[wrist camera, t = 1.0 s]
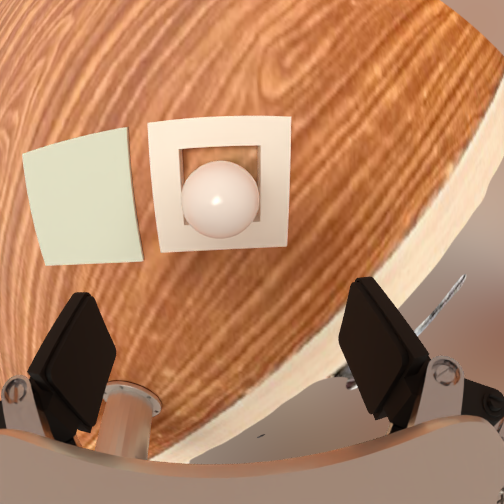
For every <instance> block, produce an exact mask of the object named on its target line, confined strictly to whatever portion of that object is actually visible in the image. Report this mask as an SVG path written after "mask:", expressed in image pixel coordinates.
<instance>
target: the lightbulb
mask: <svg viewBox="0 0 504 504" xmlns="http://www.w3.org/2000/svg"><path fill="white" fill-rule="evenodd" d="M181 207H182V211H183V214H184V216H185V218H186V220H187V222H188V223H189V224H190V226H191V227H192V228H193V229H194V230H196V231H197V232H199V233H200V234H202V235H204V236H207V237H210V238H216V239H224V238H229V237H233V236H235V235H238V234H239V233H241V232H243V231H244V230H245V229H246V228H247V227H248V226H249V225H250V224H251V223H252V221H253V220H254V218H255V216H256V214H257V211H258V208H259V191H258V187H257V184H256V182H255V180H254V179H253V177H252V176H251V174H250V173H249V172H248V171H247V170H245V169H244V168H243V167H241V166H240V165H238V164H235V163H233V162H229V161H212V162H208V163H206V164H203V165H201V166H200V167H198V168H197V169H196V170H194V171H193V172H192V173H191V174H190V176H189V177H188V178H187V180H186V182H185V184H184V186H183V189H182V193H181Z"/></svg>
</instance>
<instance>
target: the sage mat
mask: <svg viewBox="0 0 504 504" xmlns="http://www.w3.org/2000/svg"><path fill="white" fill-rule="evenodd" d="M22 157H23V166H24V174H25V181H26V187H27V193H28V198H29V204H30V209H31V213H32V218H33V222H34V226H35V230H36V234H37V238H38V242H39V245H40V249H41V252H42V255H43V259H44V262H45V265H46V266H47V265H71V264H95V263H117V262H140V261H144V256H143V250H142V245H141V239H140V233H139V227H138V221H137V214H136V207H135V200H134V192H133V183H132V174H131V163H130V151H129V136H128V127H125V128H119V129H114V130H109V131H104V132H99V133H94V134H90V135H85V136H81V137H77V138H73V139H69V140H66V141H62V142H59V143H55V144H52V145H48V146H45V147H42V148H39V149H36V150H33V151H30V152H27V153H24V154H22Z"/></svg>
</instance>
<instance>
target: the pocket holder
mask: <svg viewBox="0 0 504 504" xmlns="http://www.w3.org/2000/svg"><path fill="white" fill-rule="evenodd" d="M148 140H149V156H150V169H151V180H152V190H153V200H154V208H155V216H156V224H157V231H158V238H159V245H160V251H161V253H163V252H183V251H202V250H223V249H243V248H264V247H286V246H287V236H288V215H289V189H290V154H291V117H284V116H220V117H201V118H188V119H177V120H168V121H159V122H151V123H148ZM252 145H258V191H259V208H258V211H257V214H256V216H255V218H254V220H253V221H252V223H251V224H250V225H249V226H248V227H247V228H246V229H245V230H244V231H243V232H241V233H239V234H238V235H235V236H233V237H229V238H224V239H216V238H210V237H207V236H204V235H202V234H200V233H199V232H197V231H196V230H194V229H193V228H192V227H191V226H190V224H189V223H188V222H187V220H186V218H185V216H184V214H183V211H182V207H181V193H182V189H183V186H184V172H183V154H182V149H186V148H199V147H217V146H252Z"/></svg>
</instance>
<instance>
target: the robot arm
mask: <svg viewBox="0 0 504 504" xmlns="http://www.w3.org/2000/svg"><path fill="white" fill-rule="evenodd" d="M339 345H340V347H341V349H342V352H343V354H344V356H345V358H346V361H347V363H348V365H349V368H350V370H351V372H352V375H353V377H354V379H355V382H356V384H357V386H358V388H359V391H360V393H361V396H362V398H363V401H364V403H365V405H366V408H367V410H368V412H369V413H370V414H373V415H374V418H375V420H378V419H381V418H384V417H388V419H389V421H390V424H389V427H388V430H387V432H386V435H385V436H383V437H380V438H376V439H373V440H370V441H366V442H363V443H359V444H356V445H352V446H348V447H345V448H341V449H337V450H332V451H328V452H323V453H319V454H314V455H309V456H303V457H297V458H290V459H284V460H276V461H266V462H257V463H243V464H182V463H168V462H157V461H148V460H147V456H148V446H149V438H150V430H151V422H152V417H154V416H156V415H158V414H159V413H160V411H161V402H160V400H159V399H158V397H157V396H156V395H154V394H153V393H152V392H150V391H149V390H147V389H145V388H143V387H141V386H139V385H136V384H133V383H129V382H123V381H112V382H108V379H109V376H110V373H111V369H112V366H113V363H114V360H115V357H116V348H115V345H114V343H113V341H112V339H111V337H110V334H109V332H108V330H107V328H106V325H105V323H104V321H103V318H102V316H101V313H100V311H99V308H98V306H97V303H96V301H95V299H94V297H92V296H91V295H90V294H89V293H87V292H76V293H74V294H73V295H72V297H71V298H70V300H69V301H68V303H67V304H66V306H65V307H64V309H63V310H62V312H61V313H60V315H59V317H58V318H57V320H56V321H55V323H54V325H53V326H52V328H51V330H50V331H49V333H48V335H47V336H46V338H45V340H44V341H43V343H42V345H41V347H40V349H39V350H38V352H37V354H36V356H35V358H34V360H33V361H32V363H31V365H30V367H29V369H28V371H27V372H28V373H29V375H30V376H31V377H30V379H28V378H27V377H25V376H23V375H16V376H13V377H11V378H10V379H9V380H8V381H7V382H6V383H5V385H4V386H3V389H2V392H1V398H2V400H1V401H0V504H504V396H503V395H502V393H501V392H499V391H498V390H496V389H494V388H491V387H488V386H485V385H482V384H479V383H476V382H473V381H470V380H467V379H465V378H464V371H463V369H462V367H461V366H460V364H459V363H458V362H457V361H456V360H454V359H453V358H450V357H448V356H437V357H435V358H433V359H432V360H431V359H430V358H429V356H428V355H429V353H428V351H427V350H426V348H425V347H424V346H423V344H422V343H421V341H420V340H419V338H418V337H417V335H416V334H415V333H414V331H413V330H412V329H411V327H410V326H409V324H408V323H407V322H406V320H405V319H404V318H403V316H402V315H401V313H400V312H399V311H398V309H397V308H396V307H395V305H394V304H393V303H392V301H391V300H390V299H389V298H388V296H387V295H386V294H385V292H384V291H383V290H382V289H381V287H380V286H379V285H378V283H377V282H376V281H375V280H374V278H372V277H362V278H357V279H356V280H355V282H353V283H352V284H351V286H350V290H349V295H348V300H347V304H346V308H345V313H344V317H343V321H342V325H341V329H340V333H339ZM107 382H108V383H107ZM102 399H104V400H105V401H106V406H105V410H104V413H103V417H102V421H101V425H100V429H99V434H98V438H97V442H96V447H95V451H93V450H89V449H85V448H83V447H82V445H81V443H80V441H79V439H78V437H77V435H76V432H77V429H78V430H80V431H84V432H88V433H91V429H92V426H95V424H96V421H97V417H98V413H99V410H100V406H101V402H102Z"/></svg>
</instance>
